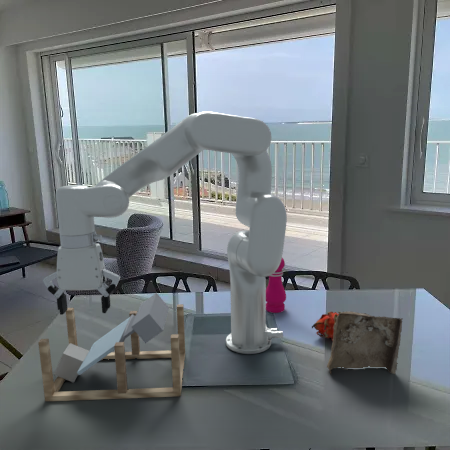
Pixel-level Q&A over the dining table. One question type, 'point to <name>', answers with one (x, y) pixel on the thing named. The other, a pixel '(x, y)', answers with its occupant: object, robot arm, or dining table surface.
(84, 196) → the robot arm
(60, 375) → the light grey block
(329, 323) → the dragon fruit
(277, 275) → the pepper mill
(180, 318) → the frame
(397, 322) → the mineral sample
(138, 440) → the dining table surface
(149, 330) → the trapdoor
